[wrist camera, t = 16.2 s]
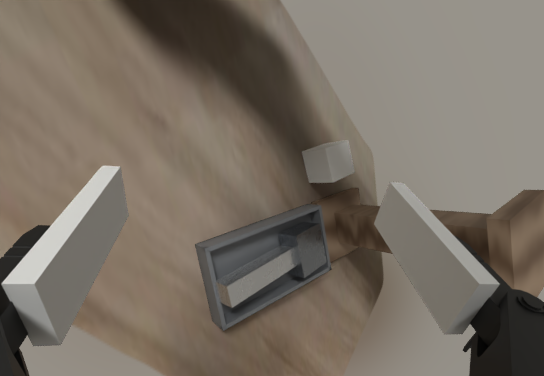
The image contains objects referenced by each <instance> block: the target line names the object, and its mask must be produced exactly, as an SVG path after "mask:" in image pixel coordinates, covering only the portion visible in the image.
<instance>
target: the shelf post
mask: <svg viewBox="0 0 544 376" xmlns="http://www.w3.org/2000/svg"><path fill="white" fill-rule="evenodd" d="M311 204H313V205H321V208H322V214H323V220H324V227H325V233H326V239H327V245H328V251H329V257H330V263H331V262H333V261H335V260H337V259H338V258H340V257H342V256H344V255H346V254H348V253H349V252H351V251H353V250H355V249H357V248H359V247H363V248H367V249H372V250H377V251H382V252H387V253H391V254H393V253H392V252H391V250H390V248H389V247H388V245H387V244H386V242H385V241H384V239H383V237H382V236H381V234H380V233H379V231H378V230H377V228H376V226H375V225H374V222H375V219H376V217H377V214H378V211H379V209H380V206H367V205H361V203H360V196H359V189H358V188H351V189H348V190H345V191H342V192H340V193H337V194H334V195H331V196H328V197H326V198H323V199H320V200H317V201H314V202H312V203H311ZM430 211H431V212H432V213H433V214H434V216H435V217H436V218H437V219H438V220H439V221H440V222H441V223H442V224H443V225H444V226H445V227H446V228H447V229H448V230H449V231H450V232H451V233H452V234H453V235H454V236H457V237H458V238H460V239H461V240H463V241H464V242H466V243H467V244H469V245H470V246H471V247H472V248H473V249H474V250H475V251H476V252H477V255H479V256H480V257H481V258H482V259H483V260H484V262H486V263H487V264H488V265H489V266H490V267H491V268H492V269H493V270H494V271H495V272H496V273H497V274H498V275H499V276H500V277H501V278H502V279H503V280H504V281H505V282H506V283H507V284H508V285H509V286H510V287H511V288H512V289H517V290H522V291H525V292H528V293H530V294H532V295H534V296H535V297H538V295H539V293H540V292H541V290H542V289H543V287H544V190H523V191H522V192H521V193H519V194H518V195H517V196H515V197H514V198H513V199H511V200H510V201H509V202H508V203H506V204H505V205H503V206H502V207H501V208H499V209H498V210H497V211H496V212H494V213H493V214H482V213H467V212H454V211H439V210H430Z"/></svg>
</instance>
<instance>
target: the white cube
mask: <svg viewBox="0 0 544 376" xmlns="http://www.w3.org/2000/svg"><path fill="white" fill-rule="evenodd" d="M302 156H303V160H304V164H305V168H306V172H307V176H308V180H309V183H334V182H336V181H338V180H340V179H342V178H344V177H346V176H348V175H351V174H353V173H355V171H354V166H353V161H352V156H351V152H350V147H349V142H348V140H345V141H338V142H332V143H325V144H322V145H319V146H316V147H313V148H310V149H307V150H305V151H302Z"/></svg>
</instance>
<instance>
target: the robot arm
mask: <svg viewBox="0 0 544 376" xmlns="http://www.w3.org/2000/svg"><path fill="white" fill-rule="evenodd" d="M128 216H129V215H128V209H127V203H126V197H125V191H124V184H123V178H122V172H121V167H118V166H102V167H101V168H100V169H99V170H98V171H97V173H96V174H95V175H94V176H93V177H92V178H91V180H90V181H89V182H88V183H87V184H86V185H85V187H84V188H83V189H82V190H81V191H80V192H79V194H78V195H77V196H76V197H75V198H74V199H73V201H72V202H71V203H70V204H69V205H68V206H67V208H66V209H65V210H64V211H63V212H62V213H61V215H60V216H59V217H58V218H57V219H56V220H55V222H54V223H53V224H52V225H51V226H46V225H38V226H36V227H35V228H33V229H32V230H30V231H28V232H27V233H25V234H23V235H22V236H21V237H20V238H19V239H18V241H17V242H16V243H15V244H14V245H13V247H12V248H10V249H9V250H8V251H7V252H6V253H5V254H4V257H1V259H0V376H29V373H28V370H27V367H26V364H25V361H24V358H23V355H22V352H21V351H20V349H19V347H20V345H21V344H22V342H23V341H24V339H25V338H26V336H27V335H28V337H29V339H30V341H31V343H32V345H33V346H50V345H61V344H62V342H63V340H64V338H65V336H66V334H67V332H68V330H69V329H70V327H71V325H72V323H73V321H74V319H75V317H76V315H77V313H78V311H79V309H80V308H81V306H82V304H83V302H84V300H85V298H86V296H87V294H88V292H89V290H90V288H91V286H92V285H93V283H94V281H95V279H96V277H97V275H98V273H99V271H100V269H101V267H102V265H103V264H104V262H105V260H106V258H107V256H108V254H109V252H110V250H111V248H112V246H113V244H114V243H115V241H116V239H117V237H118V235H119V233H120V231H121V229H122V227H123V225H124V223H125V222H126V220H127V218H128ZM374 225H375V226H376V228H377V230H378V231H379V233H380V234H381V236H382V237H383V239H384V241H385V242H386V244H387V245H388V247H389V248H390V250H391V252H392V253H393V255H394V256H395V258H396V259H397V261H398V263H399V264H400V266H401V267H402V269H403V270H404V272H405V274H406V275H407V277H408V278H409V280H410V282H411V283H412V285H413V286H414V288H415V289H416V291H417V292H418V294H419V296H420V297H421V299H422V300H423V302H424V304H425V305H426V307H427V308H428V310H429V311H430V313H431V315H432V316H433V318H434V319H435V321H436V322H437V324H438V325H439V327H440V329H441V330H442V332H443V333H444V334H463V332H464V331H465V330H466V328H467V327H468V326H469V324H471V325H472V327H473V328H474V329H475V331H476V333H475V334H474V335H473V336H472V338H471V339H470V340H469V341H468V343H467V344H466V345H465V346H464V349H463V351H464V352H467V350H468V349H469V348H471V362H470V375H469V376H544V302H542V301H541V300H540V299H538V298H537V297H535V296H534V295H532V294H530V293H528V292H525V291H522V290H517V289H512V288H511V287H510V286H509V285H508V284H507V283H506V282H505V281H504V280H503V279H502V278H501V277H500V276H499V275H498V274H497V273H496V272H495V271H494V270H493V269H492V268H491V267H490V266H489V265H488V264H487V263H486V262H484V260H483V259H482V258H481V257H480V256H479V255H477V252H476V251H475V250H474V249H473V248H472V247H471V246H470V245H469V244H467V243H466V242H464V241H463V240H461V239H460V238H458V237H457V236H454V235H453V234H452V233H451V232H450V231H449V230H448V229H447V228H446V227H445V226H444V225H443V224H442V223H441V222H440V221H439V220H438V219H437V218H436V217H435V216H434V214H433V213H432V212H431V211H430V210H429V209H428V208H427V207H426V206H425V205H424V204H423V203H422V202H421V201H420V200H419V199H418V198H417V197H416V196H415V195H414V193H413V192H412V191H411V190H410V189H409V188H408V187H407V186H406V185H405V184H404V183H400V182H389V185H388V188H387V190H386V193H385V196H384V198H383V201H382V203H381V206H380V209H379V211H378V214H377V217H376V219H375V222H374Z"/></svg>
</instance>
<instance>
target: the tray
mask: <svg viewBox="0 0 544 376" xmlns="http://www.w3.org/2000/svg"><path fill="white" fill-rule="evenodd" d="M300 222H310V223H320V228H321V234H322V239H323V245H324V250H325V256H326V261H327V262H326V263H325V264H323V265H322V266H321V267H319V268H318V269H316V270H315V271H314V272H312V273H311V274H310V275H308V276H307V277H305V278H302V277H298V276H295V275H291V274H287V273H285V274H283V275H282V276H280V277H279V278H277V279H276V280H274V281H273V282H271V283H269V284H268V285H266V286H265V287H263V288H262V289H260V290H259V291H257V292H256V293H254V294H253V295H251V296H250V297H248V298H247V299H245V300H243V301H242V302H240V303H239V304H237V305H236V306H234V307H233V308H231V307H229V306H227V305H225V304H223V303H221V302H219V298H218V294H217V290H216V286H215V281H216V280H218V279H220V278H222V277H224V276H225V275H227V274H229V273H231V272H233V271H235V270H236V269H238V268H240V267H242V266H244V265H245V264H247V263H249V262H251V261H253V260H255V259H256V258H258V257H260V256H262V255H264V254H265V253H267V252H269V251H271V250H273V249H274V248H276V247H278V246H280V241H279V236H278V234H279V233H280V232H282V231H284V230H286V229H288V228H290V227H292V226H294V225H296V224H298V223H300ZM195 247H196V251H197V256H198V260H199V264H200V269H201V273H202V277H203V282H204V286H205V290H206V295H207V299H208V303H209V308H210V312H211V316H212V321H213V322H214V323H215V324H216V325H217V326H218V327H219V328H221V329H222V330H223V331H224V330H226V329H227V328H229V327H231V326H233V325H234V324H236V323H238V322H240V321H241V320H243V319H245V318H247V317H249V316H250V315H252V314H254V313H256V312H257V311H259V310H261V309H263V308H264V307H266V306H268V305H270V304H271V303H273V302H275V301H277V300H278V299H280V298H282V297H284V296H285V295H287V294H289V293H291V292H292V291H294V290H296V289H298V288H299V287H301V286H303V285H305V284H307V283H308V282H310V281H312V280H314V279H315V278H317V277H319V276H321V275H322V274H324V273H326V272H328V271H329V270H331V263H330V257H329V251H328V245H327V239H326V233H325V227H324V220H323V214H322V208H321V205H313V204H306V205H303V206H300V207H298V208H295V209H292V210H289V211H287V212H284V213H281V214H278V215H275V216H273V217H270V218H267V219H264V220H261V221H259V222H256V223H253V224H250V225H248V226H245V227H242V228H239V229H236V230H234V231H231V232H228V233H225V234H222V235H220V236H217V237H214V238H211V239H208V240H206V241H203V242H200V243H197V244H195Z"/></svg>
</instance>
